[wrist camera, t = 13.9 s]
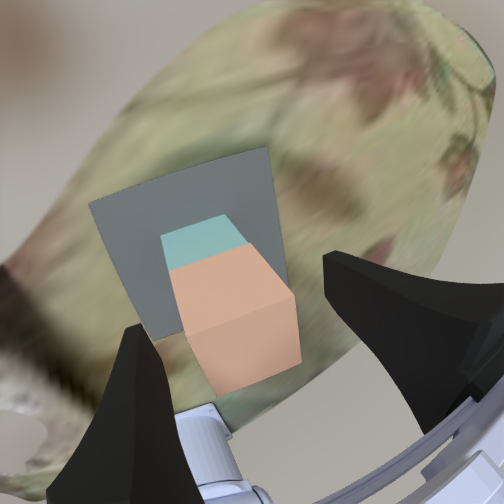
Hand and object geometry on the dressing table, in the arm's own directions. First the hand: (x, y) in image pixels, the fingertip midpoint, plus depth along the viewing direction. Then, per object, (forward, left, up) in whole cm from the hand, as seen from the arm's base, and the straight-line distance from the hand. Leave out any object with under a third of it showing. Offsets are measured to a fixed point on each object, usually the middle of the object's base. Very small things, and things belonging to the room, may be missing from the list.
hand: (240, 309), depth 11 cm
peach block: (-3, 0, -5) cm, 6 cm away
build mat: (-3, 0, -10) cm, 11 cm away
